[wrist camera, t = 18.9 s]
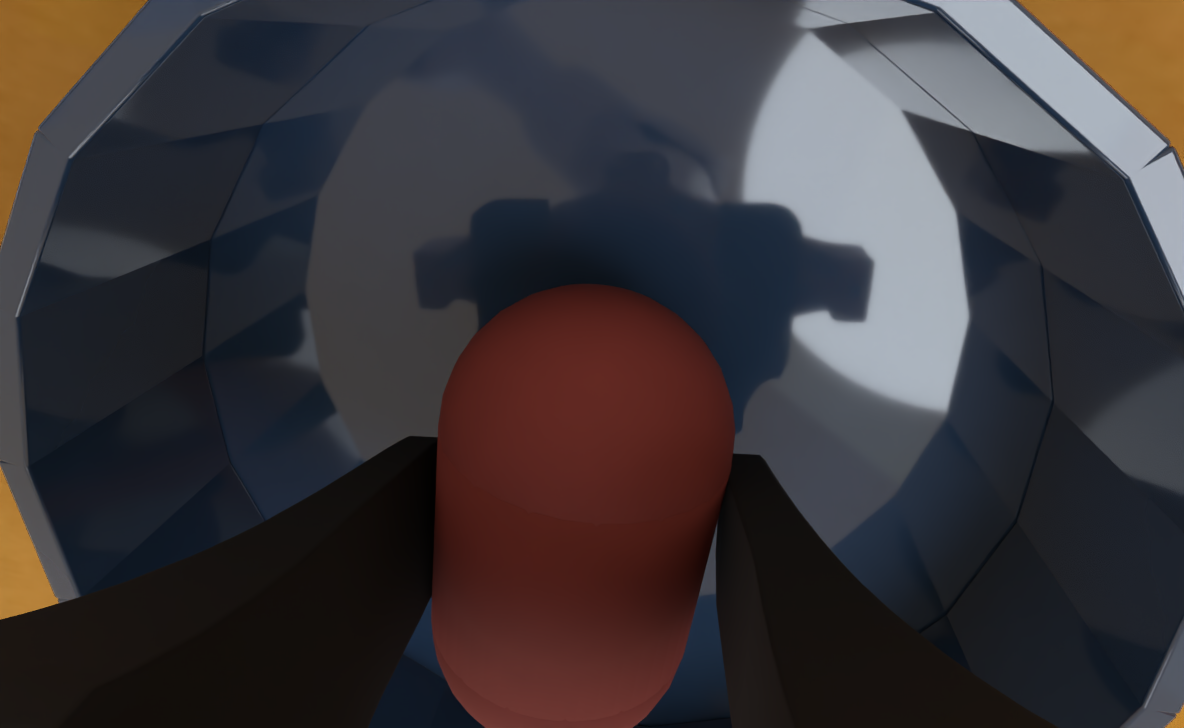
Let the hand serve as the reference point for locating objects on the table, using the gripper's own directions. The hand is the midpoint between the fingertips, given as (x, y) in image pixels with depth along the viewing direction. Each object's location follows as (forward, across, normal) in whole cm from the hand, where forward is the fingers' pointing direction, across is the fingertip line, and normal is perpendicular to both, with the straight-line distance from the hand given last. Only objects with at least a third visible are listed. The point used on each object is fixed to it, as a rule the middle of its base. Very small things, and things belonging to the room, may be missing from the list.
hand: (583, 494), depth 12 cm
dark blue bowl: (+2, 0, 0) cm, 2 cm away
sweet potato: (+1, 0, 0) cm, 1 cm away
